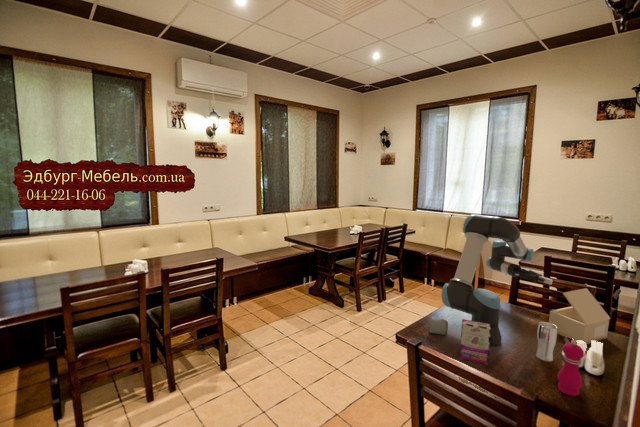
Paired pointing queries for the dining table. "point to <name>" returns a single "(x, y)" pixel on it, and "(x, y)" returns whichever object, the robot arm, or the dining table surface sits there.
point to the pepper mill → (571, 369)
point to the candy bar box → (475, 341)
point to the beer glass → (546, 340)
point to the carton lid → (586, 306)
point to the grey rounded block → (438, 326)
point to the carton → (577, 325)
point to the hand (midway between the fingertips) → (551, 282)
